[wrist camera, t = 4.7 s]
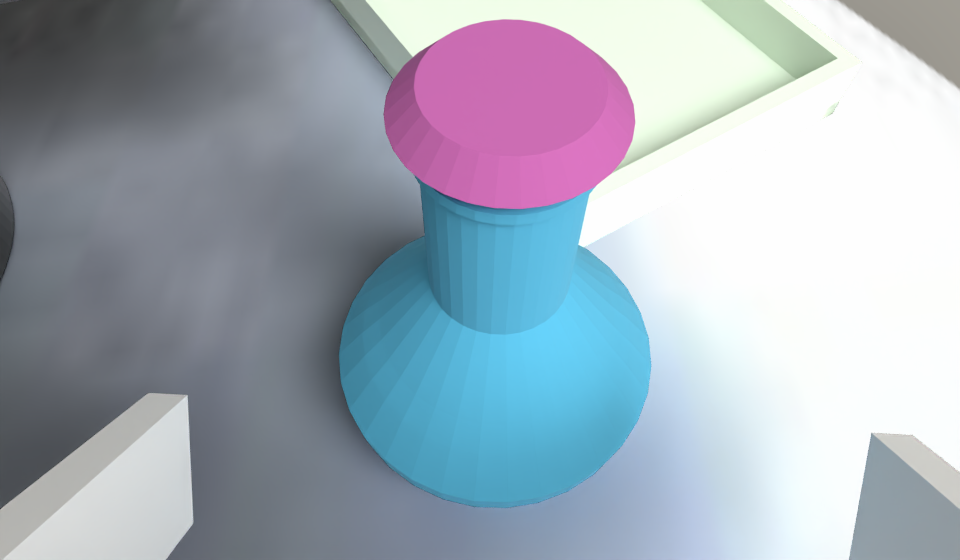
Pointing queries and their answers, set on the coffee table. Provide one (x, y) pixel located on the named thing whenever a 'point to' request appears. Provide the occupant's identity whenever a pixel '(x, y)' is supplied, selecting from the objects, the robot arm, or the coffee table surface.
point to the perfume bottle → (500, 275)
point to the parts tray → (657, 79)
